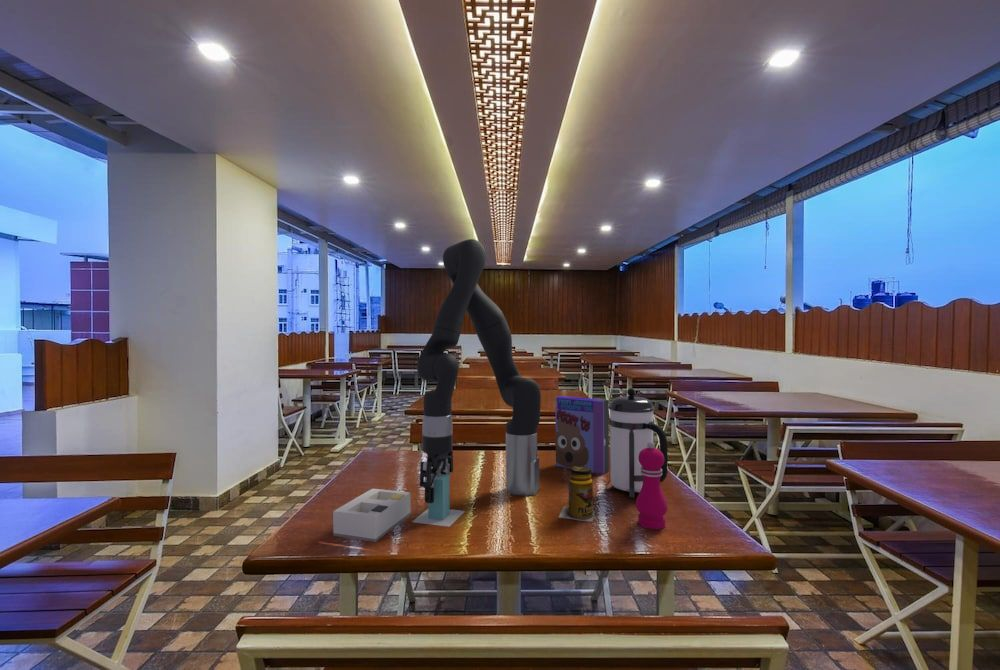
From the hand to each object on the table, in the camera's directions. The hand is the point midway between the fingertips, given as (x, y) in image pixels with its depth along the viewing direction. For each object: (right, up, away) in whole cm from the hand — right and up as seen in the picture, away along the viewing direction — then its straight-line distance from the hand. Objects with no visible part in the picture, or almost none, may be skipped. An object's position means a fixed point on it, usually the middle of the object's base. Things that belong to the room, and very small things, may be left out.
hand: (437, 496), depth 117 cm
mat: (+1, -5, 0) cm, 5 cm away
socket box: (-15, -5, -5) cm, 16 cm away
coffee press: (+55, -5, +17) cm, 58 cm away
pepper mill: (+52, -5, -5) cm, 53 cm away
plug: (+1, -5, 0) cm, 5 cm away
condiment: (+36, -5, +2) cm, 36 cm away
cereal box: (+44, -5, +41) cm, 60 cm away
